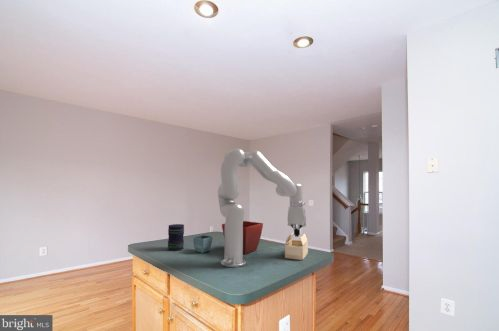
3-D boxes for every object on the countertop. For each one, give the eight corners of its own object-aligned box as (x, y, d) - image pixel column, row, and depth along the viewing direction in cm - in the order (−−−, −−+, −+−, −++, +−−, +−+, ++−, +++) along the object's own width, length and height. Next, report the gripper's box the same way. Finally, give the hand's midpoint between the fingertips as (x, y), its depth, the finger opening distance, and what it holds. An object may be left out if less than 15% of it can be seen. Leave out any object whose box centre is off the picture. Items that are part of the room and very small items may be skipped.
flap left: (288, 237, 138) (287, 236, 138) (285, 244, 138) (285, 243, 138) (293, 232, 150) (293, 232, 150) (291, 239, 150) (290, 239, 150)
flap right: (302, 245, 134) (303, 245, 134) (299, 238, 135) (300, 237, 135) (306, 240, 146) (307, 240, 146) (304, 233, 147) (305, 233, 147)
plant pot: (245, 257, 138) (245, 227, 139) (220, 251, 149) (220, 223, 150) (263, 250, 153) (263, 223, 154) (240, 245, 164) (240, 220, 166)
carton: (302, 260, 132) (302, 247, 132) (284, 258, 136) (284, 245, 136) (308, 252, 147) (307, 240, 148) (291, 250, 151) (291, 239, 152)
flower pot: (212, 251, 151) (213, 236, 152) (202, 254, 143) (203, 238, 144) (202, 249, 156) (202, 234, 156) (192, 252, 148) (192, 237, 149)
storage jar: (186, 247, 159) (187, 224, 160) (178, 251, 149) (179, 226, 151) (172, 246, 161) (173, 223, 162) (164, 250, 152) (165, 226, 153)
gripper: (310, 204, 144) (311, 235, 143) (285, 203, 150) (286, 234, 149) (307, 205, 138) (308, 238, 136) (282, 204, 143) (282, 236, 142)
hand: (296, 236), depth 142 cm, fingers closed
